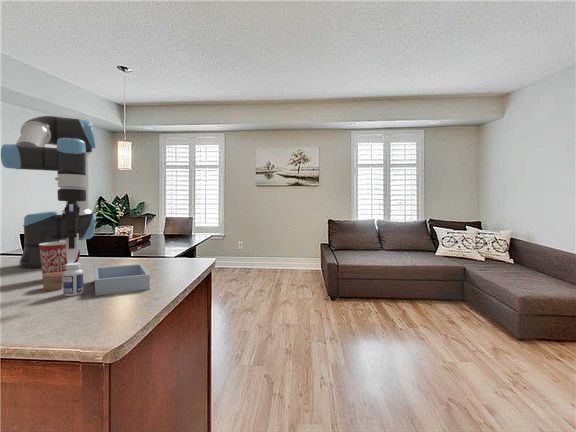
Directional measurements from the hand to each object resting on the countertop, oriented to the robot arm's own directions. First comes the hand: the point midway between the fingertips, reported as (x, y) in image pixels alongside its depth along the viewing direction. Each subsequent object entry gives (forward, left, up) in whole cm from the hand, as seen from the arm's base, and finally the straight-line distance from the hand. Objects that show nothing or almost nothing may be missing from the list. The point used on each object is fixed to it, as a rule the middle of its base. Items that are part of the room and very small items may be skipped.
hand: (72, 256), depth 105 cm
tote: (-5, +14, -12) cm, 19 cm away
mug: (-24, -5, -13) cm, 28 cm away
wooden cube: (-10, -6, -12) cm, 17 cm away
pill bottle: (0, 0, -13) cm, 13 cm away
